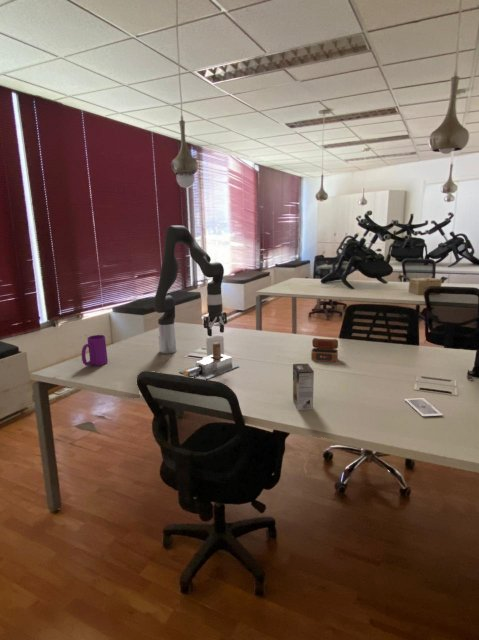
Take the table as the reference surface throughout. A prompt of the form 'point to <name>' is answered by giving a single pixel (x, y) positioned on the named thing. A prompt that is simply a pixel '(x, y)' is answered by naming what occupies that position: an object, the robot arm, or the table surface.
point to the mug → (95, 351)
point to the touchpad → (423, 407)
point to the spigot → (216, 351)
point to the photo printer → (214, 339)
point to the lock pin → (192, 371)
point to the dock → (212, 367)
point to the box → (324, 350)
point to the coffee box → (303, 386)
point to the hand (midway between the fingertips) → (215, 334)
